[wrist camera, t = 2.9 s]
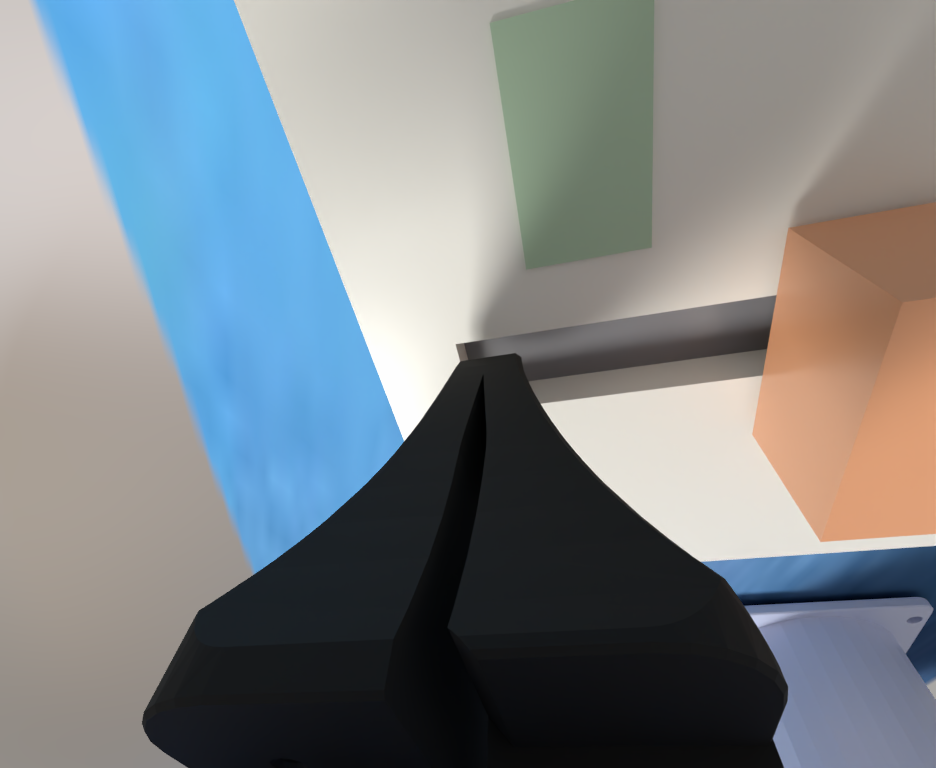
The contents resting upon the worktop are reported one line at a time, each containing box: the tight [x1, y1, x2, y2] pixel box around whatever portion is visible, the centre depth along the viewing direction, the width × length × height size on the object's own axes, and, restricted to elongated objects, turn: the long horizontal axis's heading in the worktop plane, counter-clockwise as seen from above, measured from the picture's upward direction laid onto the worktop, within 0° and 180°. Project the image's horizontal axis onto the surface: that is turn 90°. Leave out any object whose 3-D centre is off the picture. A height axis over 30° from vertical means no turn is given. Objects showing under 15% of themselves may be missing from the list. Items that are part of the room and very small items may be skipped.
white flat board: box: [234, 0, 936, 562], centre depth 11 cm, size 16×20×2 cm
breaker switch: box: [752, 202, 936, 542], centre depth 9 cm, size 5×3×4 cm, turn 12°
